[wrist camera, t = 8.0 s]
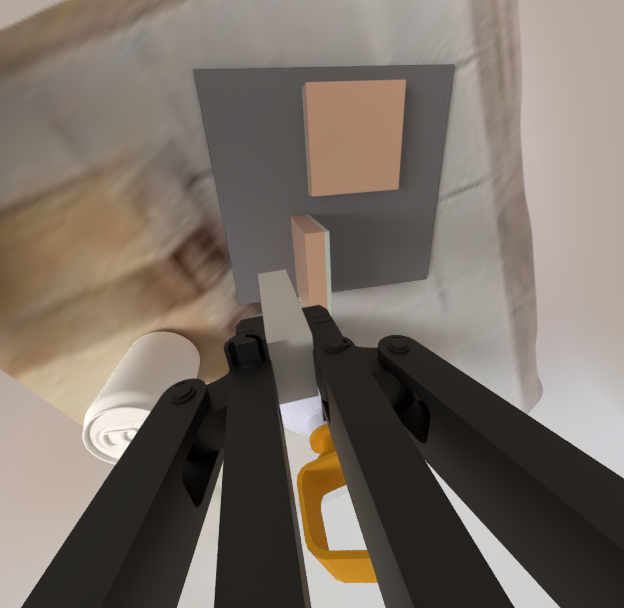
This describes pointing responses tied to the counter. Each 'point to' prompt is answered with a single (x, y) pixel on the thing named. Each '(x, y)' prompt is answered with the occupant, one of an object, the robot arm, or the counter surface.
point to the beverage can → (136, 391)
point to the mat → (294, 182)
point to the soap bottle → (322, 491)
